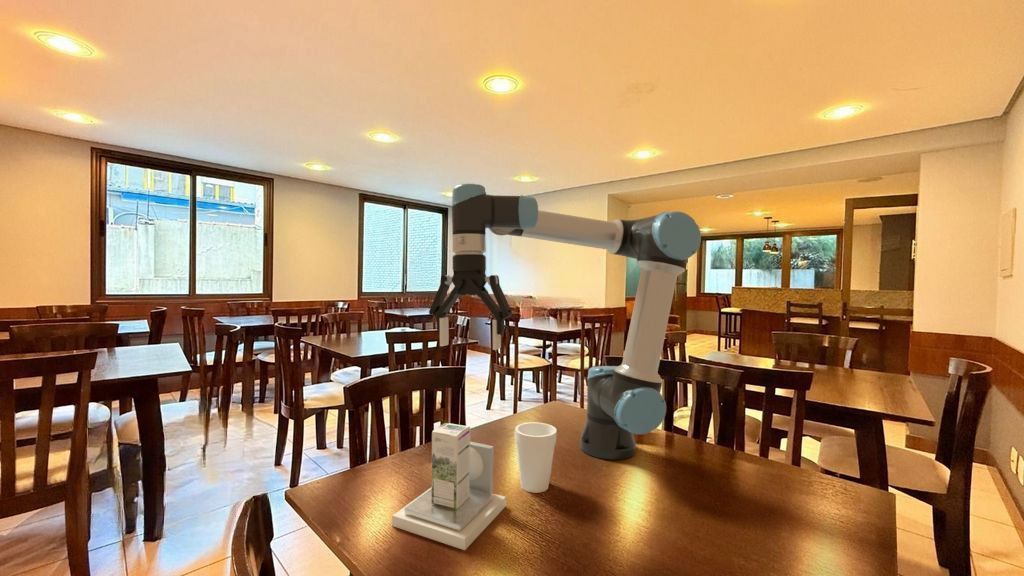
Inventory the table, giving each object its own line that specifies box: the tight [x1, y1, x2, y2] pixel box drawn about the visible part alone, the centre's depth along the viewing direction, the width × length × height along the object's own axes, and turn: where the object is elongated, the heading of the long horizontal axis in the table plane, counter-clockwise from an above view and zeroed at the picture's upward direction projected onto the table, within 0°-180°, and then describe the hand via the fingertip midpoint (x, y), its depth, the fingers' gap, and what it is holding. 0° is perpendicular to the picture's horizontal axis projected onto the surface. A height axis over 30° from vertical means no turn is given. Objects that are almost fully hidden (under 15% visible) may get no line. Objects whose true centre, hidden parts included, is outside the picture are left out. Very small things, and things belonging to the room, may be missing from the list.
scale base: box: [391, 441, 507, 551], centre depth 85 cm, size 16×16×12 cm
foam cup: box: [514, 421, 558, 494], centre depth 98 cm, size 10×9×13 cm
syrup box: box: [431, 422, 471, 510], centre depth 84 cm, size 6×6×14 cm
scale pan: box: [404, 487, 494, 531], centre depth 85 cm, size 12×12×1 cm
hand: (469, 347), depth 98 cm, fingers open, 13 cm apart
